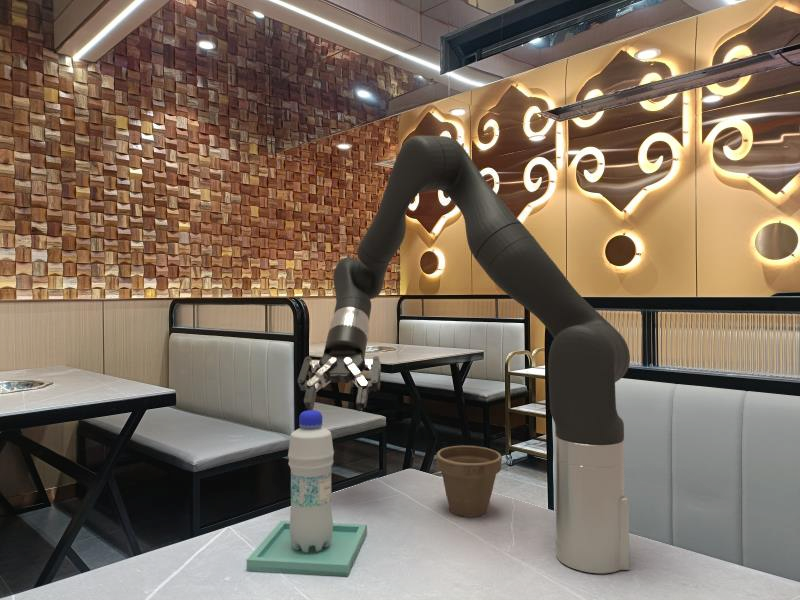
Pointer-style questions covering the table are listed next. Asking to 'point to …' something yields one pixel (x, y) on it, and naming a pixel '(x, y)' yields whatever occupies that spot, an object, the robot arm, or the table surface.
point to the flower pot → (468, 477)
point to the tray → (327, 561)
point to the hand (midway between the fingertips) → (334, 408)
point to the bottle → (311, 483)
